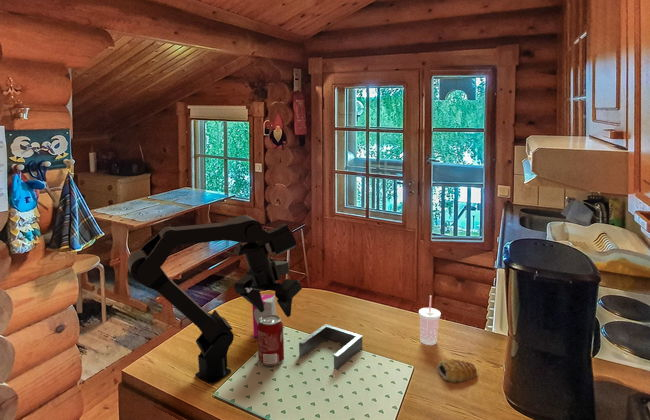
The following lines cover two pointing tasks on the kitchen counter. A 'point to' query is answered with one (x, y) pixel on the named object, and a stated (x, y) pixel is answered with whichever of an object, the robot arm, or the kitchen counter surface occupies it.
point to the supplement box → (268, 310)
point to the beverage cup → (429, 324)
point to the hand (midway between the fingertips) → (275, 313)
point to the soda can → (270, 340)
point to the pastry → (456, 370)
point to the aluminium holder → (336, 335)
